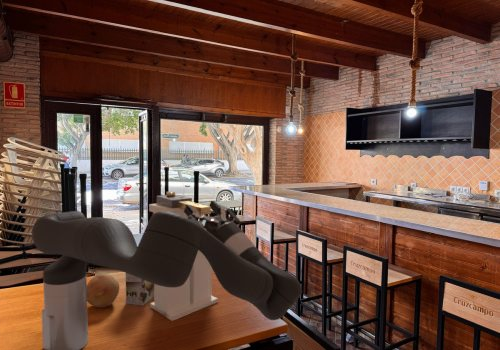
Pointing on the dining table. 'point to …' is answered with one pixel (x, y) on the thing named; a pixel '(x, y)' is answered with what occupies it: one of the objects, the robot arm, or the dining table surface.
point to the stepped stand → (192, 291)
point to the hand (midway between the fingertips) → (199, 205)
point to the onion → (102, 290)
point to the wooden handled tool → (181, 203)
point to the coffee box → (138, 290)
